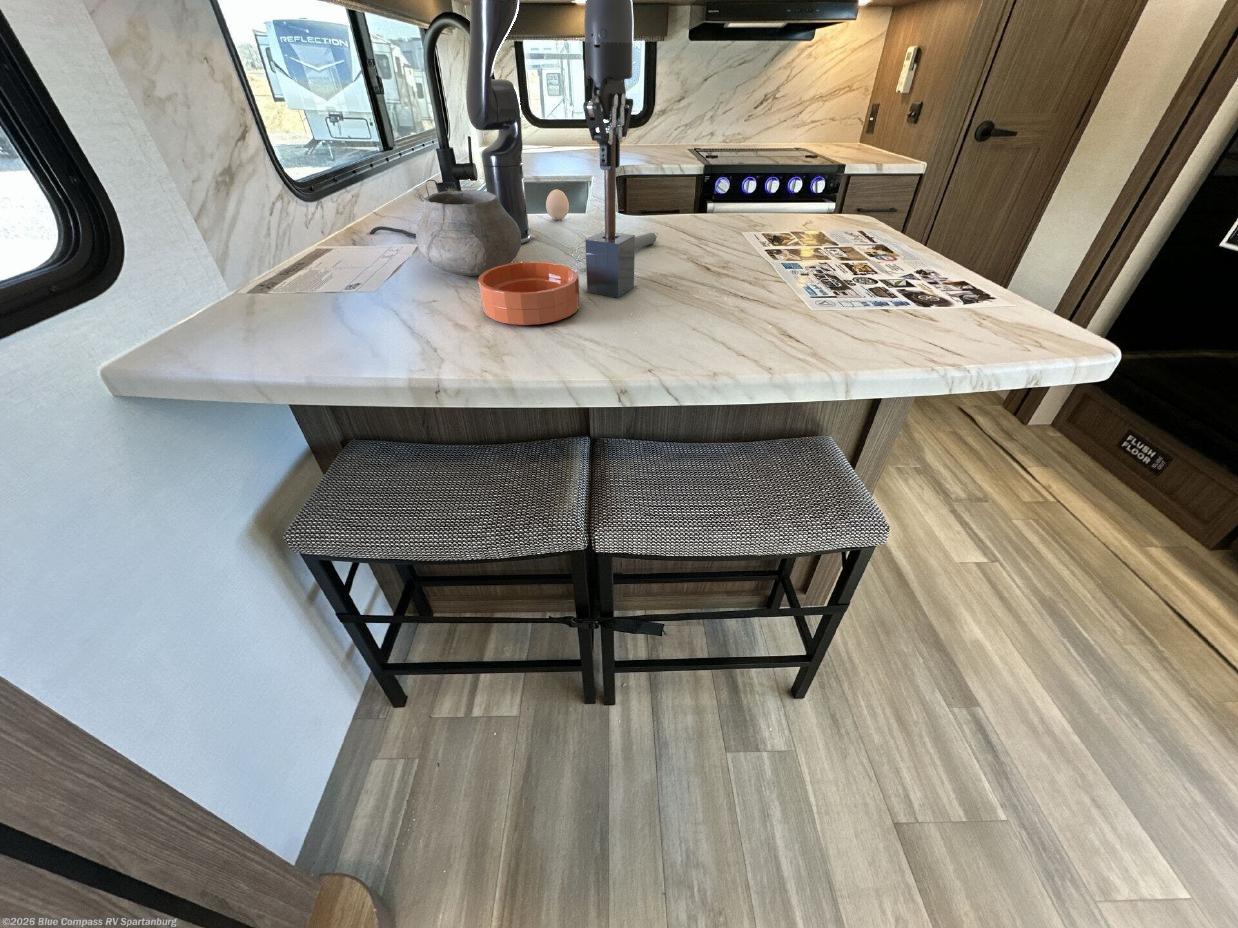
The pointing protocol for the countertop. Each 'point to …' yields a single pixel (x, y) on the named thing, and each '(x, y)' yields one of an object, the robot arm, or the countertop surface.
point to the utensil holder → (610, 264)
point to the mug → (443, 186)
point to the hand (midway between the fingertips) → (609, 168)
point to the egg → (557, 204)
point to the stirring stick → (610, 197)
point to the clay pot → (467, 232)
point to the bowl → (529, 292)
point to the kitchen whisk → (639, 242)
